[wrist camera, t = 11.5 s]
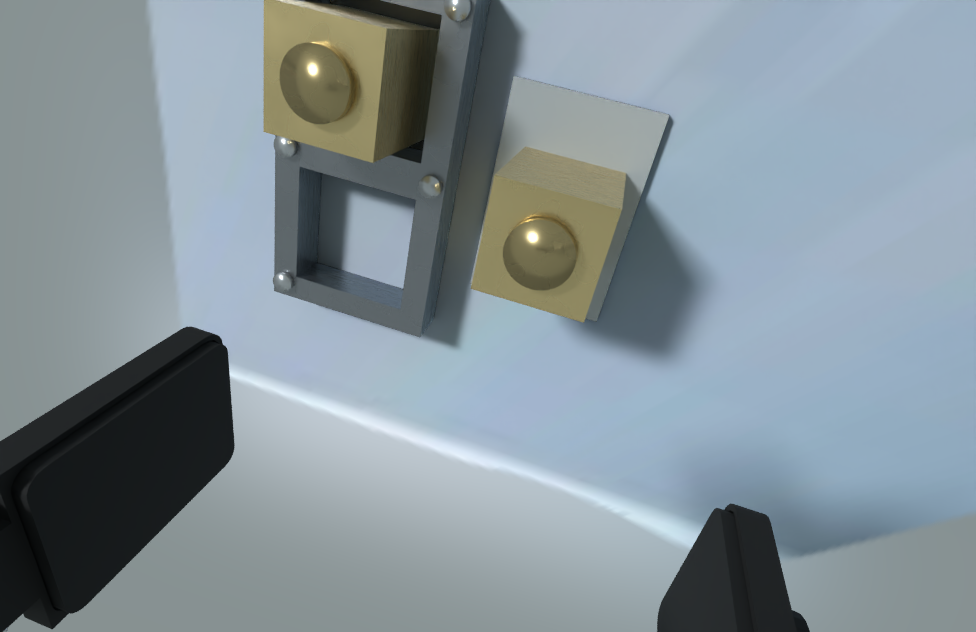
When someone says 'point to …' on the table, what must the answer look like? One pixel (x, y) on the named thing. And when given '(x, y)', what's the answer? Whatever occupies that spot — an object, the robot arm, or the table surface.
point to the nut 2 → (548, 231)
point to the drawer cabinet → (386, 189)
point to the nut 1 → (346, 78)
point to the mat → (584, 147)
